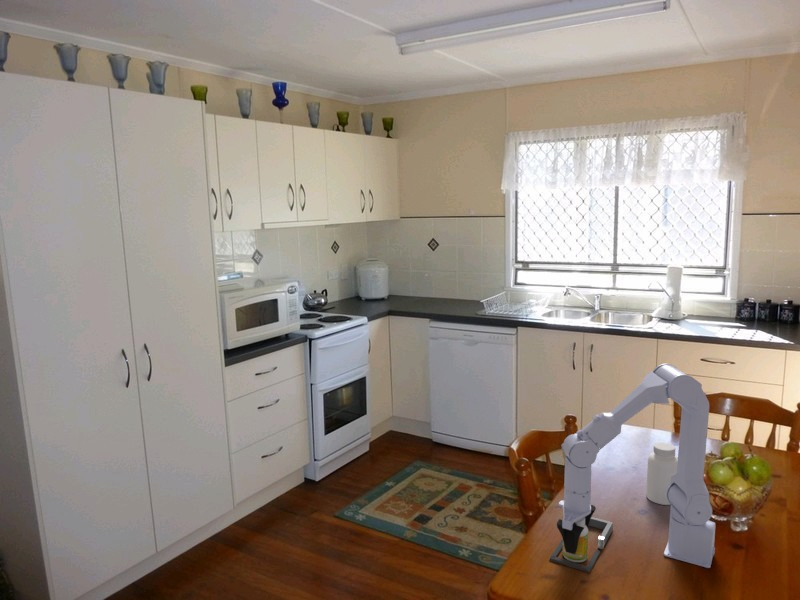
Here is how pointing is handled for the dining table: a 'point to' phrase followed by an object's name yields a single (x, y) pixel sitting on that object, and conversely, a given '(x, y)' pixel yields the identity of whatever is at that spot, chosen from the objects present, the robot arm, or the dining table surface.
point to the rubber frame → (572, 564)
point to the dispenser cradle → (604, 525)
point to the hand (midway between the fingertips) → (575, 543)
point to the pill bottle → (660, 472)
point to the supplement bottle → (579, 545)
